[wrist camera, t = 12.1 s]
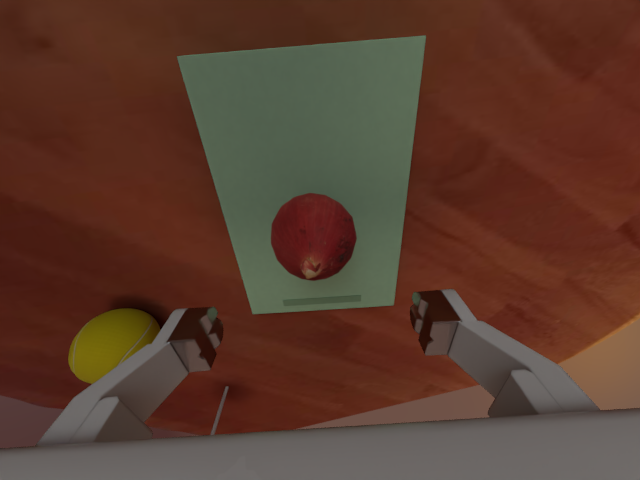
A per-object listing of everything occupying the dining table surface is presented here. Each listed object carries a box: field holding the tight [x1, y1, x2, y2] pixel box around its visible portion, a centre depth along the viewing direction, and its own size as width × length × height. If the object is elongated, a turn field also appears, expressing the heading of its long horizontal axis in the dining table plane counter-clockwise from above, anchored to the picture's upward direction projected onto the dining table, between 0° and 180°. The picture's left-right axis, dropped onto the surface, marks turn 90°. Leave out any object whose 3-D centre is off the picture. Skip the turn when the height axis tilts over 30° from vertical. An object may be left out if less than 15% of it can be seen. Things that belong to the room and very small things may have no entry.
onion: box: [271, 193, 357, 281], centre depth 16 cm, size 6×6×8 cm
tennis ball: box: [68, 308, 160, 384], centre depth 24 cm, size 7×7×7 cm
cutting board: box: [177, 36, 426, 314], centre depth 20 cm, size 22×15×2 cm
